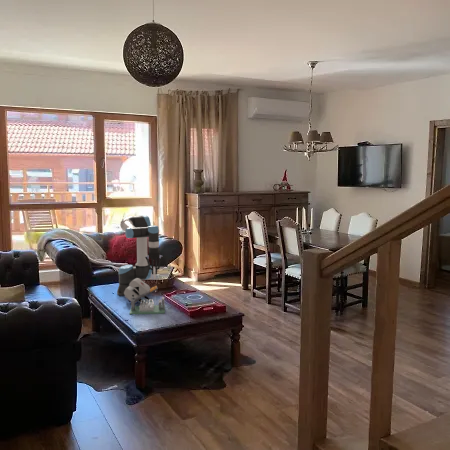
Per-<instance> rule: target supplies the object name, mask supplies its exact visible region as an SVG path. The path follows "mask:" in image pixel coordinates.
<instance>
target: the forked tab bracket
mask: <svg viewBox="0 0 450 450" xmlns="http://www.w3.org/2000/svg"><path fill="white" fill-rule="evenodd" d="M133 299H135V298H132V300H131V303H130V307H131V308H130V309H131V311H134V310H135V306H136V303H135V302H134V300H133Z"/></svg>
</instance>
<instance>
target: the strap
mask: <svg viewBox="0 0 450 450" xmlns="http://www.w3.org/2000/svg"><path fill="white" fill-rule="evenodd" d="M157 290H158V286H157V285H154V286H153V287H150V291H148V292H146V293H144V294H142V295H140V296H139V297H137V298H135V299H133V300H134V302H135V301H137V300H139V299H144V298H143V297H144V296H148V295H150V294H152V293H153V292H155V291H157Z"/></svg>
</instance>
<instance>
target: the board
mask: <svg viewBox="0 0 450 450" xmlns="http://www.w3.org/2000/svg"><path fill="white" fill-rule="evenodd" d="M165 309H166V304H164V310H159V304H158V305H157V304H154V311H148V312H140V305H135V310H134V311H131V308H130V310H129V315H131V314H135V315H158V314H165V311H166V310H165Z"/></svg>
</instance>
